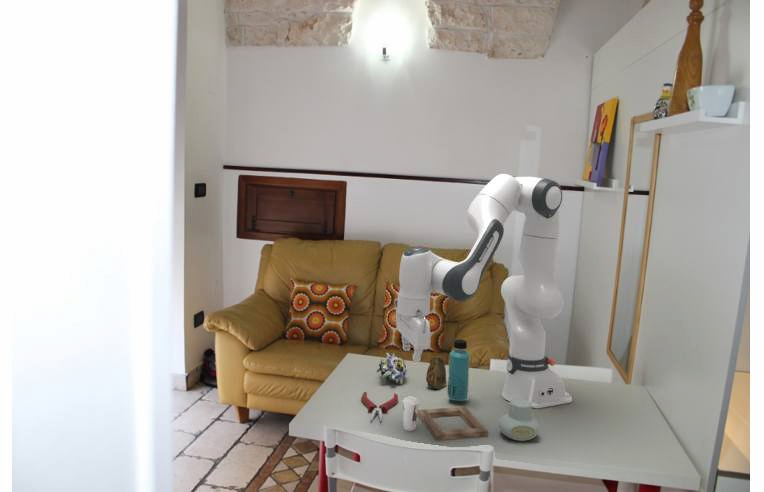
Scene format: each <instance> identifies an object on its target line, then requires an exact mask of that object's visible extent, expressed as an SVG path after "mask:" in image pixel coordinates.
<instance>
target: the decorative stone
mask: <svg viewBox="0 0 764 492" xmlns="http://www.w3.org/2000/svg"><path fill="white" fill-rule="evenodd" d="M425 381H426V383H427V387H432V388H434V389H437V390H441V389H443V388H444V387H445V385H446V384H447V371H446V364H445V358H444V357H440V356H434V357H432V358H431V359H430V360H429V365H428V367H427V371H426V377H425Z"/></svg>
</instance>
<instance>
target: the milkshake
mask: <svg viewBox="0 0 764 492" xmlns="http://www.w3.org/2000/svg"><path fill="white" fill-rule="evenodd" d="M399 395H400V397H401V400H402V410H403V411H402V413H403V416H402V417H403V420H402V421H403V422H402V423H403V429H404V431H408V432H412V431H415V430H416V427H417V419H418V415H417V414H418V410H419V405H420V404H419V403H420V401H419V399H418V398H417V397H415V396H412V395H409V396H406V397H404V398H402V395H401V394H399Z"/></svg>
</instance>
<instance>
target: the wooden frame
mask: <svg viewBox="0 0 764 492" xmlns="http://www.w3.org/2000/svg"><path fill="white" fill-rule="evenodd" d="M456 416H457V417H458V416H460V417H461V418H462V420H464V421H465V422H466V423H465V424H467V425H468V426H469V428H459V429H458V428H457V429H447V430H443V429H442V427H440V426H439V424H438V423H437V421H436V420H435V419H434V418H441V417H442V418H443V417H456ZM417 417H419V419H420V420H421V421H422V424H424V425H425V427H426V428H427V429H428V431H429V432H430V434H431V435H432V436H433V439H435V441H446V440H458V439H460V440H461V439H469V438H481V437H482V438H483V437H484V438H485V437H488V435H489V431H488V429H487V428H486V427H485V426H484V425H483V424H482V422H480V421H479V420H478V419H477V418H476V416H474V415H473V414H472V412H471V411H469V410H468V408H467V407H465V406H456V407H455V406H454V407H443V408H429V409H427V408H426V409H418V411H417Z"/></svg>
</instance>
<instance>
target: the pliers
mask: <svg viewBox="0 0 764 492" xmlns="http://www.w3.org/2000/svg"><path fill="white" fill-rule="evenodd" d="M367 394H368V393H367V391H364V392H363V393H362V395H361V398H360V400H361V403H362V404H363V405H364V406H365V407H366V408H367V413H368V414H370V416H371V417H370V423H372V422H373V421H374V420H375V419H376V416H378V420H379V423H382V419H383V414H385V415H387V414H388V410H390V409H392V408H393V407H395V406H397V404H398V402H399V397H398V394H397V393H393V397H392V398H391V399H389V400H388V401H386V402H384V403H382V404H380V405H379V406H377V404H375V403H374V401H372V400H370V398H368V395H367Z"/></svg>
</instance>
